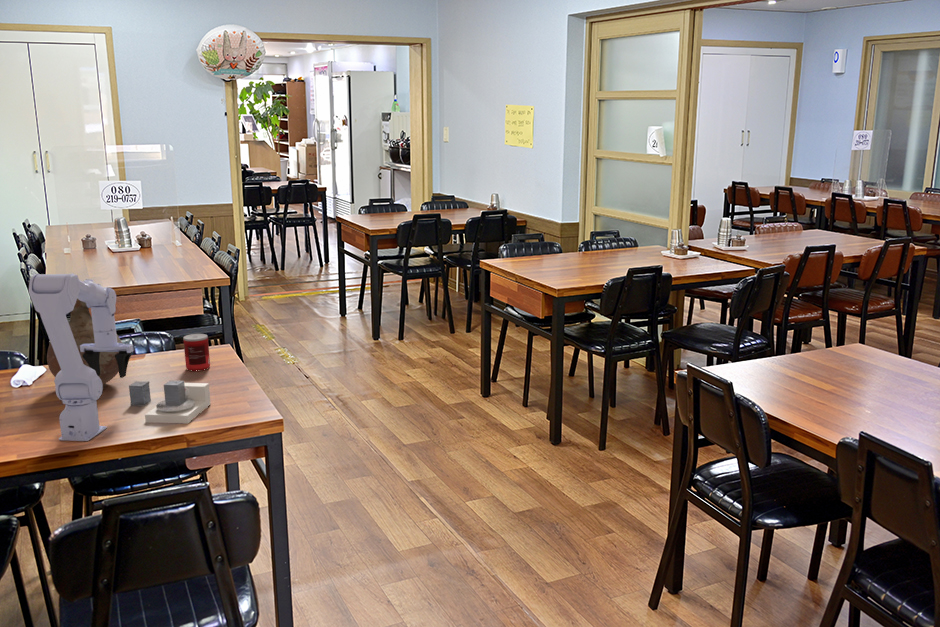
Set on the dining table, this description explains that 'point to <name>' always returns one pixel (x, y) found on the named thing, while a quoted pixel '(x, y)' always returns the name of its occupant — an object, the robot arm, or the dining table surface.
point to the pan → (186, 405)
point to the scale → (202, 401)
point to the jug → (85, 335)
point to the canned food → (196, 352)
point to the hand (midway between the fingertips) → (110, 376)
